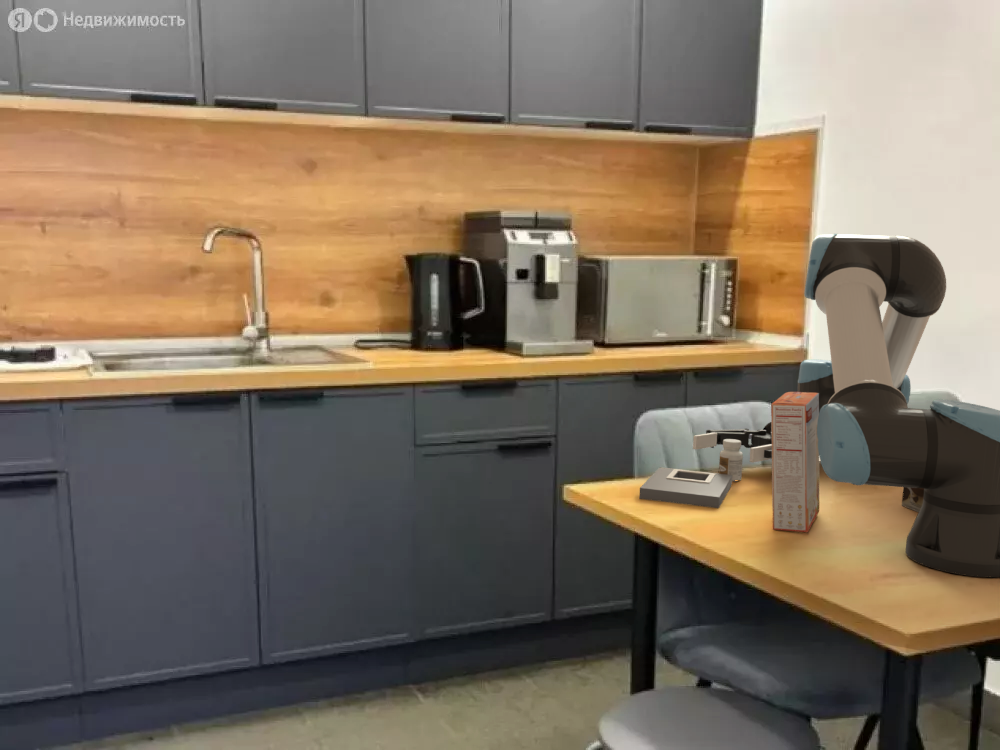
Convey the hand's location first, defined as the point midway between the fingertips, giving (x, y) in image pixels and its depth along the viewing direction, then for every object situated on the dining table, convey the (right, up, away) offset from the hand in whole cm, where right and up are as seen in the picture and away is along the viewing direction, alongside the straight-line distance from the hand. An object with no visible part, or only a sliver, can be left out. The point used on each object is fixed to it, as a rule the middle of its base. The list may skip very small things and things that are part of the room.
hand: (722, 448), depth 183 cm
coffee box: (+33, -10, -17) cm, 39 cm away
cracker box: (+6, -10, -26) cm, 29 cm away
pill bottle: (+2, -6, +3) cm, 7 cm away
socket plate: (-8, -7, -8) cm, 14 cm away
